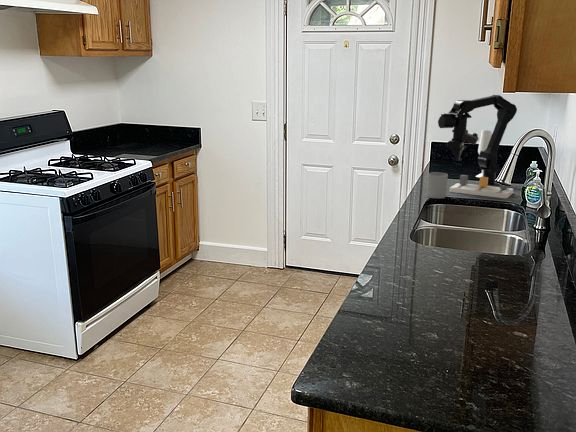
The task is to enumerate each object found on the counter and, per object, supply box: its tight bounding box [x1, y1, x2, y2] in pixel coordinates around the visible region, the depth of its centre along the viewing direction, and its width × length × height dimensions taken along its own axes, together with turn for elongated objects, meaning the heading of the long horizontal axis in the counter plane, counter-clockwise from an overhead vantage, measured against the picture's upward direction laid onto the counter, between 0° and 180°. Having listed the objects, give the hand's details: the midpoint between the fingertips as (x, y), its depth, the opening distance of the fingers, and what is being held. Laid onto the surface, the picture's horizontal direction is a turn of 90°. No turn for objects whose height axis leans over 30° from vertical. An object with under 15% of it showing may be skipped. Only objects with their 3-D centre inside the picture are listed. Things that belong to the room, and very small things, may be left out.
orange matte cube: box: [478, 177, 489, 187], centre depth 252 cm, size 3×3×4 cm
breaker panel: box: [448, 182, 514, 199], centre depth 251 cm, size 13×25×2 cm, turn 57°
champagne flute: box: [475, 129, 493, 178], centre depth 285 cm, size 7×7×24 cm
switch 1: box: [458, 174, 469, 185], centre depth 257 cm, size 3×3×4 cm
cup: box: [426, 171, 449, 199], centre depth 242 cm, size 8×8×10 cm
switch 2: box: [499, 184, 509, 189], centre depth 247 cm, size 3×3×4 cm
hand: (457, 160), depth 263 cm, fingers closed
